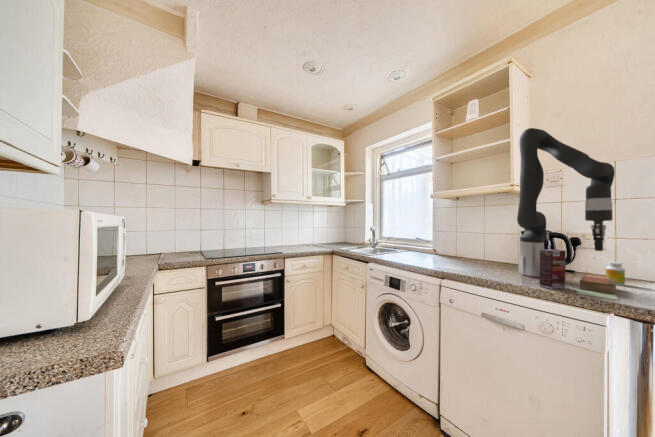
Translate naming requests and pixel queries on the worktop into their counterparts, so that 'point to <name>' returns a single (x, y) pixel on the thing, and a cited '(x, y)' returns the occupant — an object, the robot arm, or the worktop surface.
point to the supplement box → (552, 268)
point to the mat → (597, 294)
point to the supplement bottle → (616, 272)
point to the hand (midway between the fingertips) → (598, 250)
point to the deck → (598, 286)
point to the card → (597, 279)
